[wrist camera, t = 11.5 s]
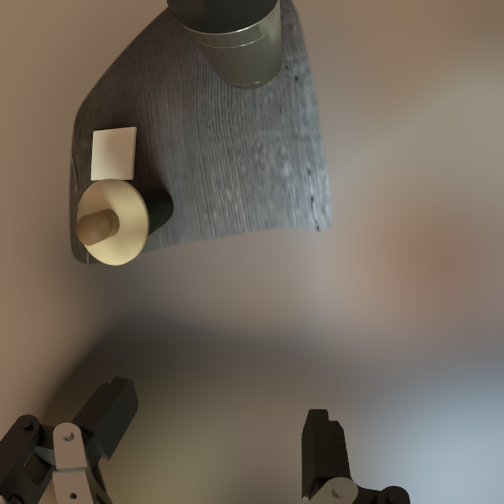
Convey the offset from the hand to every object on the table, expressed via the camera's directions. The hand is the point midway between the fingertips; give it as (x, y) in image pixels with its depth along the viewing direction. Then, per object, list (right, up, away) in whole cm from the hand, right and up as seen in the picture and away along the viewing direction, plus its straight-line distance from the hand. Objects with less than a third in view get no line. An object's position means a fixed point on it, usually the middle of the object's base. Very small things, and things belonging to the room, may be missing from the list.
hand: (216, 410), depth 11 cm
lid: (-14, +10, +17) cm, 25 cm away
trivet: (-20, +22, +27) cm, 40 cm away
